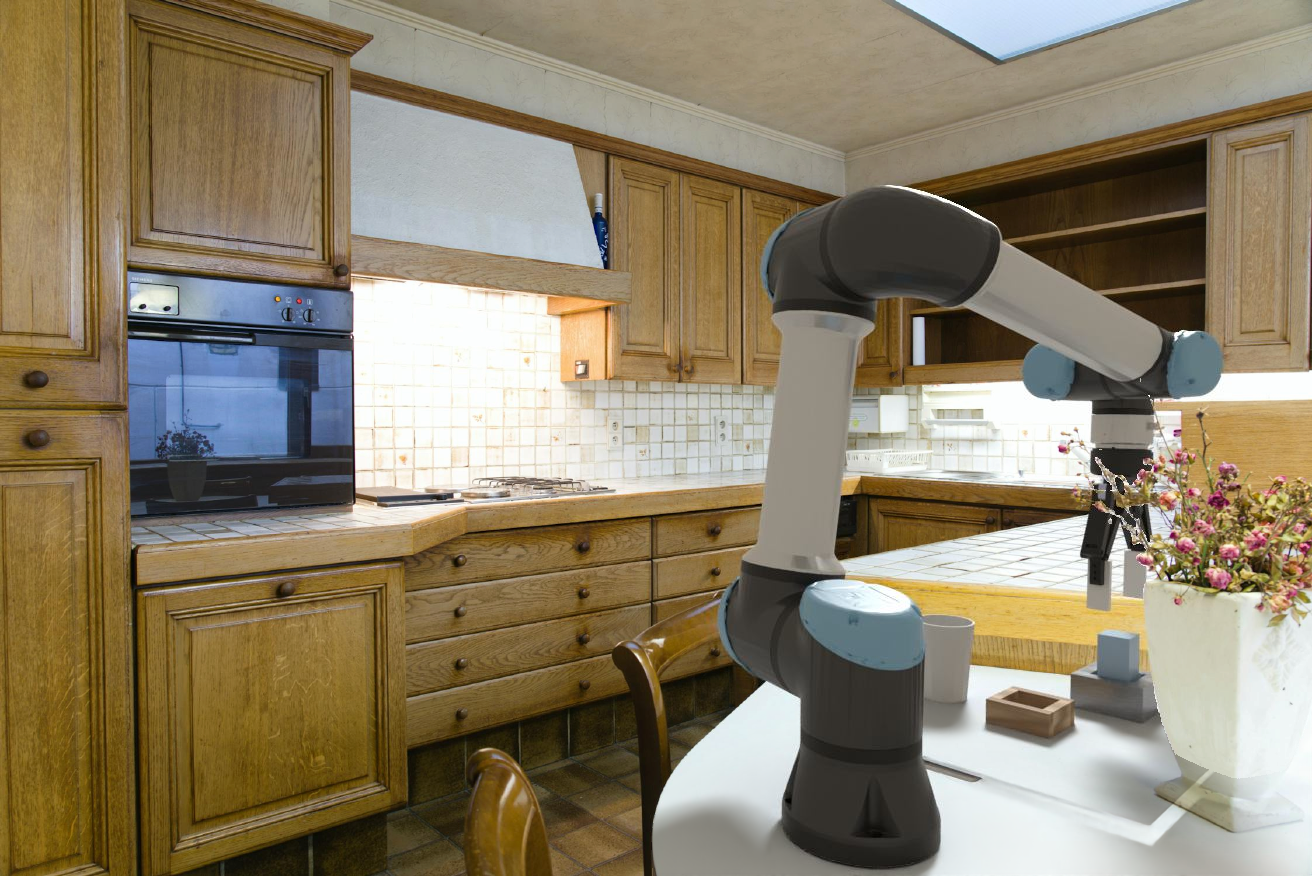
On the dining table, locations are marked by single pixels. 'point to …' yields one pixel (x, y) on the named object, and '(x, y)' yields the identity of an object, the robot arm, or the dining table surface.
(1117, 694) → the port
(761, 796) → the dining table surface
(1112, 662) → the plug
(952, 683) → the cup
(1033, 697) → the tan square frame
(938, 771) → the smartphone
